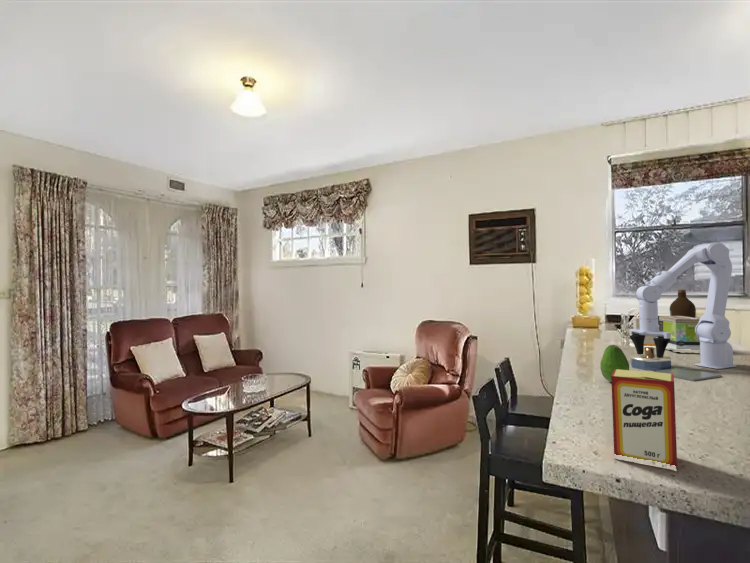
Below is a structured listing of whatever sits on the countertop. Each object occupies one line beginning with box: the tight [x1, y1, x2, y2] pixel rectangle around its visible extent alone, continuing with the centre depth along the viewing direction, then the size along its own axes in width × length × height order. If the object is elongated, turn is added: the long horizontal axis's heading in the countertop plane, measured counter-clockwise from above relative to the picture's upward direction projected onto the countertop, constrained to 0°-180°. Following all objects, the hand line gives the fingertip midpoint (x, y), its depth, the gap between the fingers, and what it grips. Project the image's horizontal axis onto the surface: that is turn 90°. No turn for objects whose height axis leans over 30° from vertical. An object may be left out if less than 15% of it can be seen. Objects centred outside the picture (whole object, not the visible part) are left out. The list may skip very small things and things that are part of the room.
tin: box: [629, 357, 672, 371], centre depth 149 cm, size 12×12×3 cm
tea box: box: [658, 315, 700, 350], centre depth 177 cm, size 15×10×15 cm, turn 168°
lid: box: [629, 346, 672, 362], centre depth 149 cm, size 12×12×4 cm
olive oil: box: [669, 289, 697, 318], centre depth 207 cm, size 11×11×25 cm
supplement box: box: [632, 316, 657, 346], centre depth 195 cm, size 8×5×13 cm, turn 71°
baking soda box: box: [611, 369, 678, 467], centre depth 76 cm, size 10×6×16 cm
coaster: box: [652, 366, 723, 382], centre depth 136 cm, size 13×13×1 cm
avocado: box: [600, 344, 630, 383], centre depth 130 cm, size 8×8×12 cm
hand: (649, 355), depth 149 cm, fingers open, 7 cm apart
